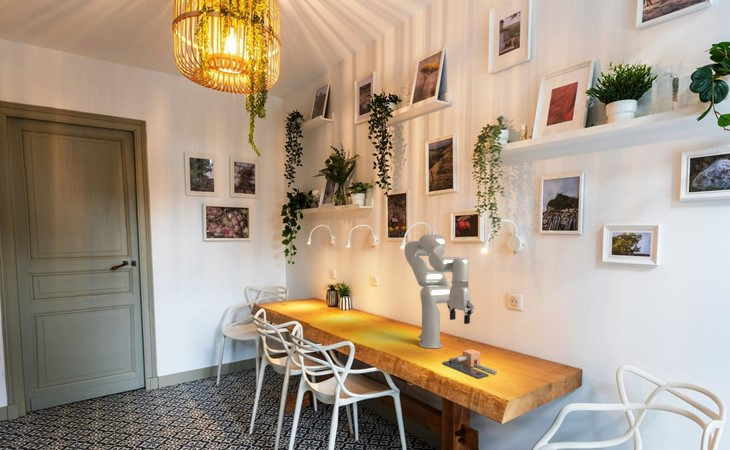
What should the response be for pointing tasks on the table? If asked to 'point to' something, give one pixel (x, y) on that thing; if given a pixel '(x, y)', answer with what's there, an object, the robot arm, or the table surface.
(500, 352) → the table surface
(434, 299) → the robot arm
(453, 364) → the bolt plate
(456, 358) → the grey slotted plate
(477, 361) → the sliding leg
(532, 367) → the table surface
